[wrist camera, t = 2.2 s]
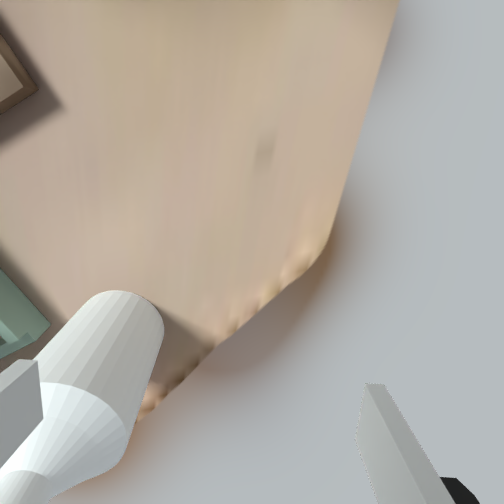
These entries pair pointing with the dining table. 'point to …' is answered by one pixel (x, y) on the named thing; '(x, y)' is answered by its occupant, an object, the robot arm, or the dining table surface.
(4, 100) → the board
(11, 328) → the frame
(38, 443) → the bottle
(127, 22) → the dining table surface
